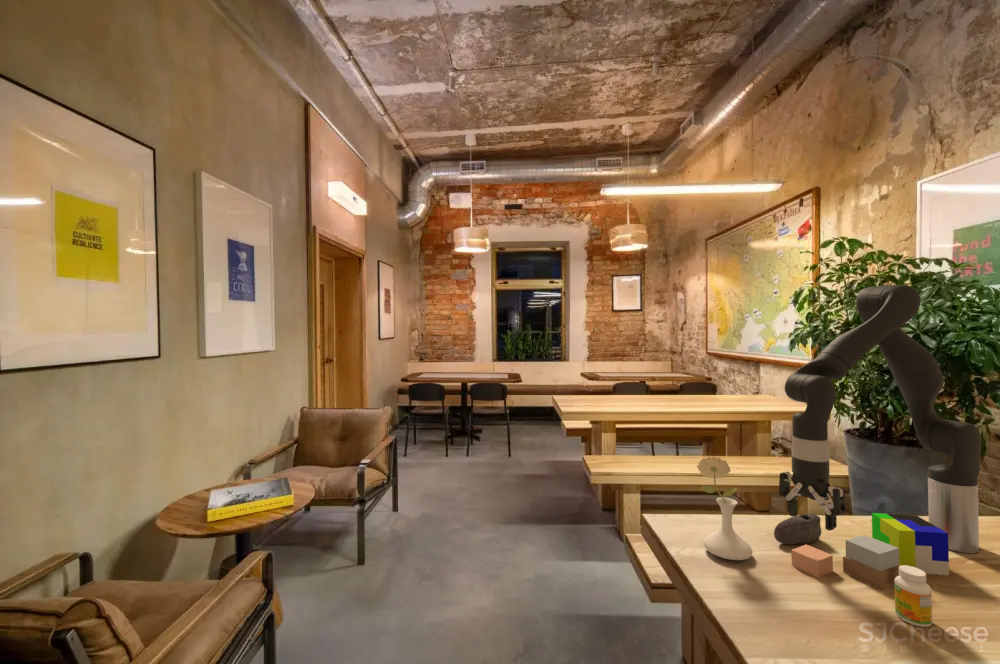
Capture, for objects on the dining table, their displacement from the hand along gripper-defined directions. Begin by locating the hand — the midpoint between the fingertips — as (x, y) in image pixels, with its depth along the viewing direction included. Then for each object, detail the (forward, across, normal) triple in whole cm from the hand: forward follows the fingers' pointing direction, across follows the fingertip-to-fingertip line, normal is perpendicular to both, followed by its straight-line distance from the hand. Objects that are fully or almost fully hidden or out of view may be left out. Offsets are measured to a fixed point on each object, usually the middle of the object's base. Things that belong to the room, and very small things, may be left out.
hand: (810, 522), depth 105 cm
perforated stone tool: (+12, +10, -10) cm, 18 cm away
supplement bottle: (+11, -20, +1) cm, 23 cm away
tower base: (+12, -8, -9) cm, 17 cm away
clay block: (+11, 0, 0) cm, 11 cm away
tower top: (+8, -8, -9) cm, 14 cm away
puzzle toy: (+11, -8, -24) cm, 28 cm away
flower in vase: (+12, +14, +13) cm, 22 cm away
